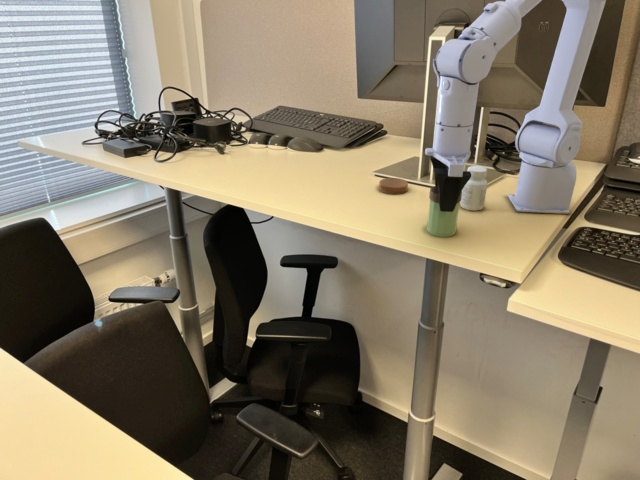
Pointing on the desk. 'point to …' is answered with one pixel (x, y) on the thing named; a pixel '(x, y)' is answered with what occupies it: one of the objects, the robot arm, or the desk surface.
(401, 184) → the teak chip
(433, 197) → the brown round lid
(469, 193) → the pill bottle
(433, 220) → the plastic cup
